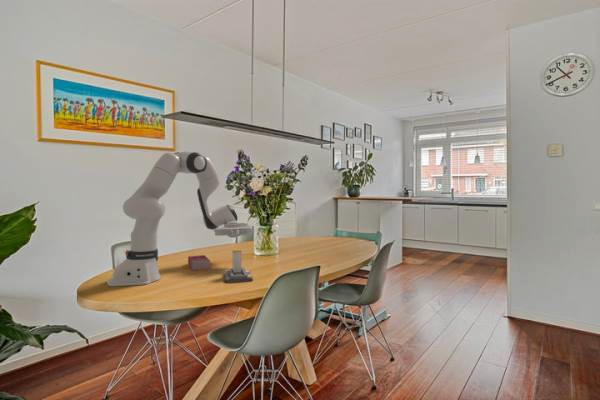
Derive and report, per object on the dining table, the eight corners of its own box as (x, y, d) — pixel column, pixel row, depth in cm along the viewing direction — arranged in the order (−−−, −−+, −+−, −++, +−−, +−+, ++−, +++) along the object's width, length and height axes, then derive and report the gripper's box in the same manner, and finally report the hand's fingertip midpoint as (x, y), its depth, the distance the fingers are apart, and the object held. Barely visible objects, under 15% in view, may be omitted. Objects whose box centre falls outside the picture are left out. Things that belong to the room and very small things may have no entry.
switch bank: (226, 282, 161) (226, 276, 161) (224, 273, 177) (224, 268, 177) (252, 280, 164) (252, 275, 164) (248, 272, 180) (248, 267, 180)
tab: (233, 272, 172) (233, 250, 172) (232, 270, 176) (232, 249, 176) (241, 272, 173) (241, 250, 173) (240, 270, 177) (240, 248, 177)
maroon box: (203, 253, 206) (210, 260, 188) (203, 261, 206) (210, 269, 188) (186, 254, 202) (192, 261, 184) (186, 263, 202) (192, 270, 184)
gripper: (213, 224, 196) (214, 227, 183) (250, 223, 202) (253, 226, 188) (213, 235, 197) (214, 239, 183) (250, 234, 202) (254, 238, 189)
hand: (234, 233), depth 186 cm, fingers closed
